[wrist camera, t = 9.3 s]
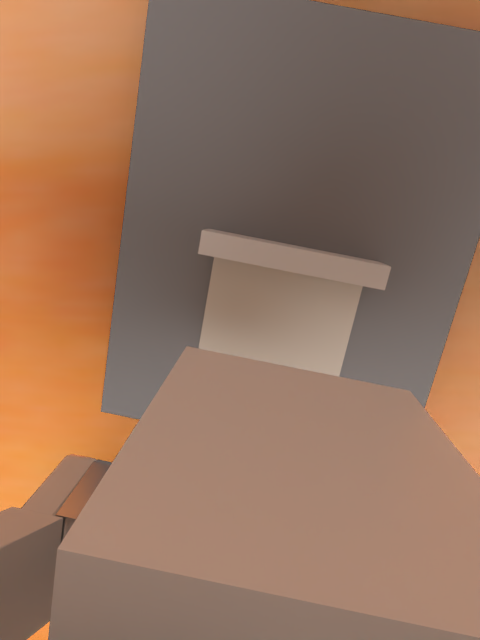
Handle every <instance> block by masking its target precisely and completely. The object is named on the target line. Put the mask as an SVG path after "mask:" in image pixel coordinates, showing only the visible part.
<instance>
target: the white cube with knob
mask: <svg viewBox="0 0 480 640" xmlns="http://www.w3.org/2000/svg"><path fill="white" fill-rule="evenodd" d="M48 640H480V476H479V475H478V474H477V473H476V472H475V470H474V469H473V468H472V467H471V465H470V464H469V463H468V462H467V460H466V459H465V458H464V457H463V456H462V454H461V453H460V452H459V451H458V449H457V448H456V447H455V446H454V444H453V443H452V442H451V441H450V440H449V438H448V437H447V436H446V435H445V433H444V432H443V431H442V430H441V428H440V427H439V426H438V425H437V424H436V422H435V421H434V420H433V419H432V417H431V416H430V415H429V414H428V412H427V411H426V410H425V409H424V407H423V406H422V405H421V404H420V403H419V401H418V400H417V399H416V398H415V396H414V395H413V394H412V393H411V391H408V390H403V389H398V388H393V387H388V386H383V385H378V384H373V383H368V382H363V381H358V380H353V379H348V378H343V377H338V376H333V375H328V374H323V373H318V372H313V371H308V370H303V369H298V368H293V367H288V366H283V365H278V364H273V363H268V362H263V361H258V360H253V359H248V358H243V357H238V356H233V355H228V354H223V353H218V352H213V351H208V350H203V349H198V348H193V347H188V346H186V348H185V350H184V351H183V353H182V354H181V356H180V357H179V359H178V361H177V362H176V364H175V365H174V367H173V368H172V370H171V372H170V373H169V375H168V376H167V378H166V379H165V381H164V382H163V384H162V386H161V387H160V389H159V390H158V392H157V393H156V395H155V397H154V398H153V400H152V401H151V403H150V404H149V406H148V408H147V409H146V411H145V412H144V414H143V415H142V417H141V418H140V420H139V422H138V423H137V425H136V426H135V428H134V429H133V431H132V433H131V434H130V436H129V437H128V439H127V440H126V442H125V444H124V445H123V447H122V448H121V450H120V451H119V453H118V455H117V456H116V458H115V459H114V461H113V462H112V464H111V465H110V467H109V469H108V470H107V472H106V473H105V475H104V476H103V478H102V480H101V481H100V483H99V484H98V486H97V487H96V489H95V491H94V492H93V494H92V495H91V497H90V498H89V500H88V502H87V503H86V505H85V506H84V508H83V509H82V511H81V512H80V514H79V516H78V517H77V519H76V520H75V522H74V523H73V525H72V527H71V528H70V530H69V531H68V533H67V534H66V536H65V538H64V539H63V541H62V542H61V544H60V545H59V547H58V548H57V556H56V566H55V577H54V587H53V597H52V607H51V617H50V627H49V637H48Z"/></svg>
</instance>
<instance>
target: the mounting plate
mask: <svg viewBox="0 0 480 640" xmlns="http://www.w3.org/2000/svg"><path fill="white" fill-rule="evenodd" d="M479 237H480V31H476V30H470V29H465V28H459V27H454V26H448V25H443V24H437V23H432V22H426V21H421V20H415V19H410V18H404V17H399V16H393V15H388V14H382V13H377V12H371V11H366V10H360V9H355V8H349V7H344V6H338V5H333V4H327V3H322V2H316V1H311V0H149V4H148V12H147V21H146V29H145V38H144V47H143V55H142V64H141V72H140V81H139V89H138V98H137V107H136V115H135V124H134V132H133V141H132V150H131V158H130V167H129V175H128V184H127V192H126V201H125V210H124V218H123V227H122V235H121V244H120V253H119V261H118V270H117V278H116V287H115V295H114V304H113V313H112V321H111V330H110V338H109V347H108V356H107V364H106V373H105V381H104V390H103V398H102V407H101V412H106V413H111V414H115V415H120V416H125V417H130V418H135V419H140V418H141V417H142V415H143V414H144V412H145V411H146V409H147V408H148V406H149V404H150V403H151V401H152V400H153V398H154V397H155V395H156V393H157V392H158V390H159V389H160V387H161V386H162V384H163V382H164V381H165V379H166V378H167V376H168V375H169V373H170V372H171V370H172V368H173V367H174V365H175V364H176V362H177V361H178V359H179V357H180V356H181V354H182V353H183V351H184V350H185V348H186V346H188V347H193V348H198V349H203V350H208V351H213V352H218V353H223V354H228V355H233V356H238V357H243V358H248V359H253V360H258V361H263V362H268V363H273V364H278V365H283V366H288V367H293V368H298V369H303V370H308V371H313V372H318V373H323V374H328V375H333V376H338V377H343V378H348V379H353V380H358V381H363V382H368V383H373V384H378V385H383V386H388V387H393V388H398V389H403V390H408V391H411V393H412V394H413V395H414V396H415V398H416V399H417V400H418V401H419V403H420V404H421V405H422V406H423V407H424V408H425V405H426V402H427V399H428V396H429V392H430V389H431V386H432V383H433V380H434V377H435V374H436V371H437V368H438V364H439V361H440V358H441V355H442V352H443V349H444V346H445V343H446V340H447V337H448V333H449V330H450V327H451V324H452V321H453V318H454V315H455V312H456V309H457V305H458V302H459V299H460V296H461V293H462V290H463V287H464V284H465V281H466V277H467V274H468V271H469V268H470V265H471V262H472V259H473V256H474V253H475V249H476V246H477V243H478V240H479Z"/></svg>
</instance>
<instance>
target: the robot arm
mask: <svg viewBox="0 0 480 640" xmlns="http://www.w3.org/2000/svg"><path fill="white" fill-rule="evenodd" d="M111 464H112V463H111V462H107V461H103V460H96V459H94V458H89V457H84V456H79V455H74V454H70V455H67V456H66V457H65V458H64V459H63V460H62V461H61V462H60V464H59V465H58V466H57V467H56V468H55V469H54V471H53V472H52V473H51V474H50V475H49V476H48V478H47V479H46V480H45V481H44V482H43V483H42V485H41V486H40V487H39V488H38V489H37V490H36V492H35V493H34V494H33V495H32V496H31V497H30V499H29V500H28V501H27V502H26V503H25V504H24V506H23V507H22V508H21V509H20V508H15V507H11V508H9V509H6V510H4V511H1V512H0V640H27V639H28V638H29V637H30V636H32V635H33V634H34V633H35V632H37V631H38V630H39V629H40V628H42V627H43V626H44V625H45V624H47V623H48V622H49V621H50V617H51V607H52V597H53V587H54V577H55V566H56V556H57V548H58V547H59V545H60V544H61V542H62V541H63V539H64V538H65V536H66V534H67V533H68V531H69V530H70V528H71V527H72V525H73V523H74V522H75V520H76V519H77V517H78V516H79V514H80V512H81V511H82V509H83V508H84V506H85V505H86V503H87V502H88V500H89V498H90V497H91V495H92V494H93V492H94V491H95V489H96V487H97V486H98V484H99V483H100V481H101V480H102V478H103V476H104V475H105V473H106V472H107V470H108V469H109V467H110V465H111Z"/></svg>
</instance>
